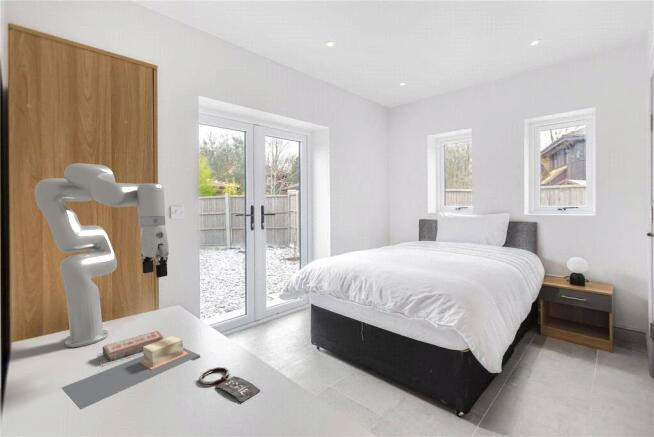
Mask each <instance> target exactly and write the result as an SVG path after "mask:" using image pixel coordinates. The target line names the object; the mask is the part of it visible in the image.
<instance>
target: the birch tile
mask: <svg viewBox="0 0 654 437" xmlns="http://www.w3.org/2000/svg"><path fill="white" fill-rule="evenodd" d="M183 348H184V343H183V339H181V338H179V337H176V336H174V335H171V336H168V337H166V338H164V339H163V340H160V341H157V342H154V343H152V344H149V345H146V346H144V347H143V352H144V354H143V355H144V361H145V362H146V363H148V364H149V365H151V366H153V367H154V366H156V365H159V364H161V363H163V362H166V361H168V360H170V359H173V358H175V357H178V356H180V355H182V354H183Z"/></svg>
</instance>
